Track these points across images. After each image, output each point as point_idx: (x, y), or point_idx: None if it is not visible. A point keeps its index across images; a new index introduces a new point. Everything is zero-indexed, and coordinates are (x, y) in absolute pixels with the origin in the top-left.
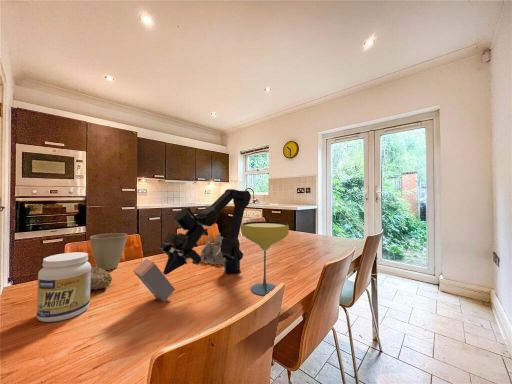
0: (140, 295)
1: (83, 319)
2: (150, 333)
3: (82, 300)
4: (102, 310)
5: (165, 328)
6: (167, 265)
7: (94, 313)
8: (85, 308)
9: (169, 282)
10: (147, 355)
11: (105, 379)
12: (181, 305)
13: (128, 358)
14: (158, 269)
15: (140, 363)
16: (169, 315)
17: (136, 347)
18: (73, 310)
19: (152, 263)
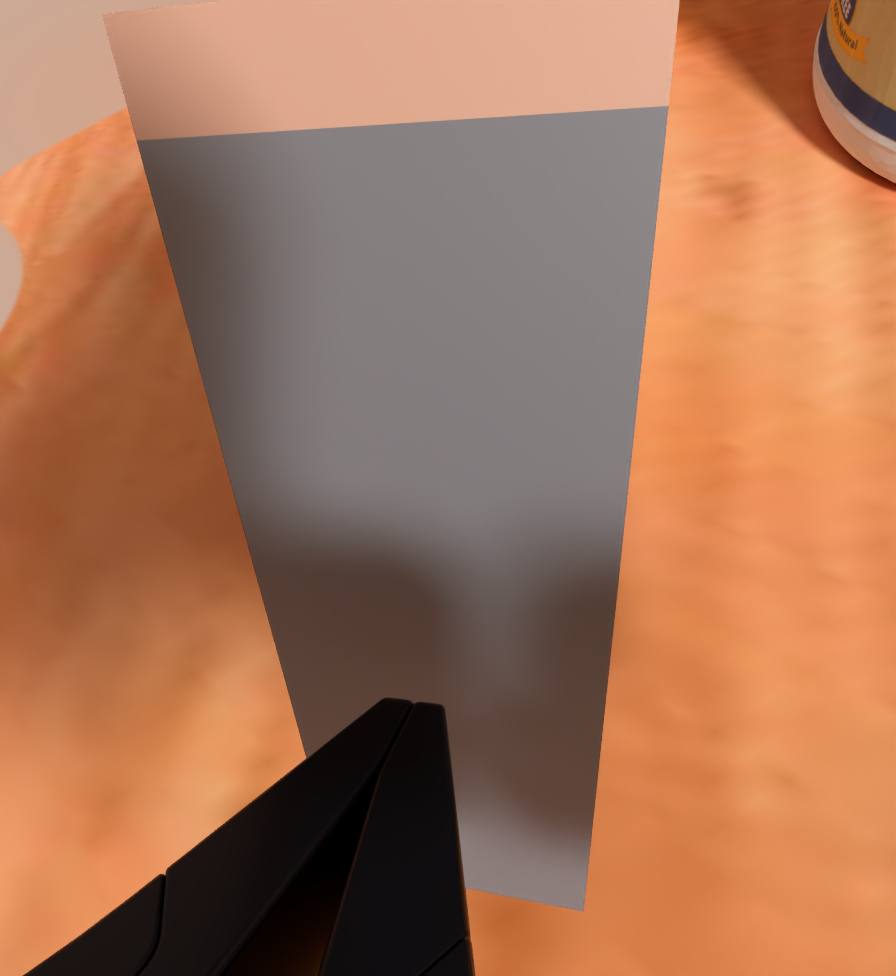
0: (847, 633)
1: (719, 153)
2: (134, 335)
3: (881, 36)
4: (769, 262)
5: (76, 413)
6: (358, 862)
7: (762, 214)
8: (869, 151)
9: (304, 741)
10: (26, 251)
11: (95, 123)
12: (167, 731)
13: (97, 199)
14: (208, 362)
15: (23, 216)
16: (158, 533)
17: (119, 244)
18: (826, 54)
19: (142, 45)
